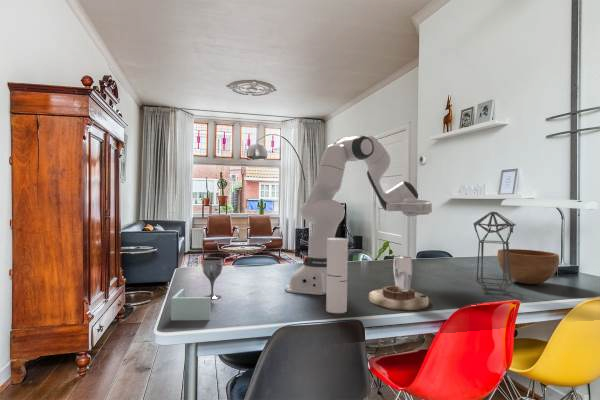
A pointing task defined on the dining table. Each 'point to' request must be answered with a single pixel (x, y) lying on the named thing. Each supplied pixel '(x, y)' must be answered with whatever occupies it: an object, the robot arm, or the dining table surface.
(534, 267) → the bowl
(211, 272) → the wine glass
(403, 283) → the beer glass
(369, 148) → the robot arm
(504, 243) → the geometric lantern
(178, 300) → the right angle wall
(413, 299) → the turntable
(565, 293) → the dining table surface
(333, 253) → the cylindrical container
